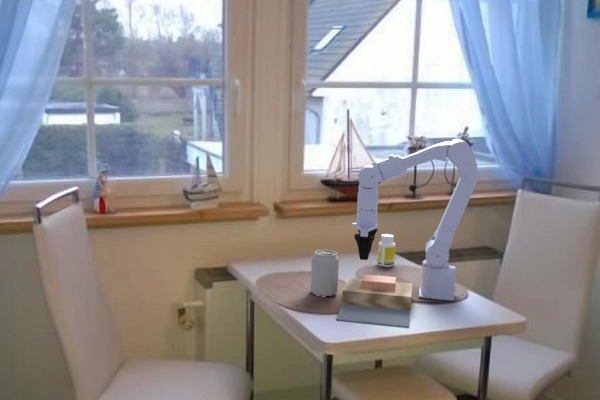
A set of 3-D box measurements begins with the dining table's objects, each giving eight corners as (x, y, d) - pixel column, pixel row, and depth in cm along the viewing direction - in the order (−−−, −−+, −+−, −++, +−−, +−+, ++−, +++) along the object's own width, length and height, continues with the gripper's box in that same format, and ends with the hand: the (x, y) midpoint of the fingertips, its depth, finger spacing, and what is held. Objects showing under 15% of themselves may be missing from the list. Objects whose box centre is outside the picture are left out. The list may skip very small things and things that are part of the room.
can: (328, 299, 196) (330, 257, 194) (305, 294, 200) (307, 252, 198) (342, 293, 203) (344, 251, 200) (319, 287, 206) (320, 246, 204)
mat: (410, 311, 190) (410, 310, 190) (408, 327, 178) (409, 326, 178) (341, 304, 193) (341, 303, 193) (336, 320, 181) (336, 319, 181)
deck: (411, 297, 201) (412, 283, 201) (410, 311, 190) (411, 296, 189) (346, 291, 204) (347, 277, 204) (341, 304, 193) (342, 290, 192)
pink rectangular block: (395, 284, 199) (396, 277, 199) (394, 290, 194) (395, 283, 193) (363, 281, 201) (363, 274, 200) (361, 287, 195) (361, 280, 195)
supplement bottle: (397, 264, 234) (399, 235, 232) (389, 268, 229) (391, 238, 227) (381, 261, 236) (383, 232, 235) (374, 265, 232) (376, 235, 230)
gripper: (355, 203, 210) (353, 248, 213) (350, 212, 196) (348, 261, 199) (380, 204, 209) (377, 250, 212) (376, 214, 195) (373, 263, 197)
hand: (365, 256), depth 205 cm, fingers open, 7 cm apart
